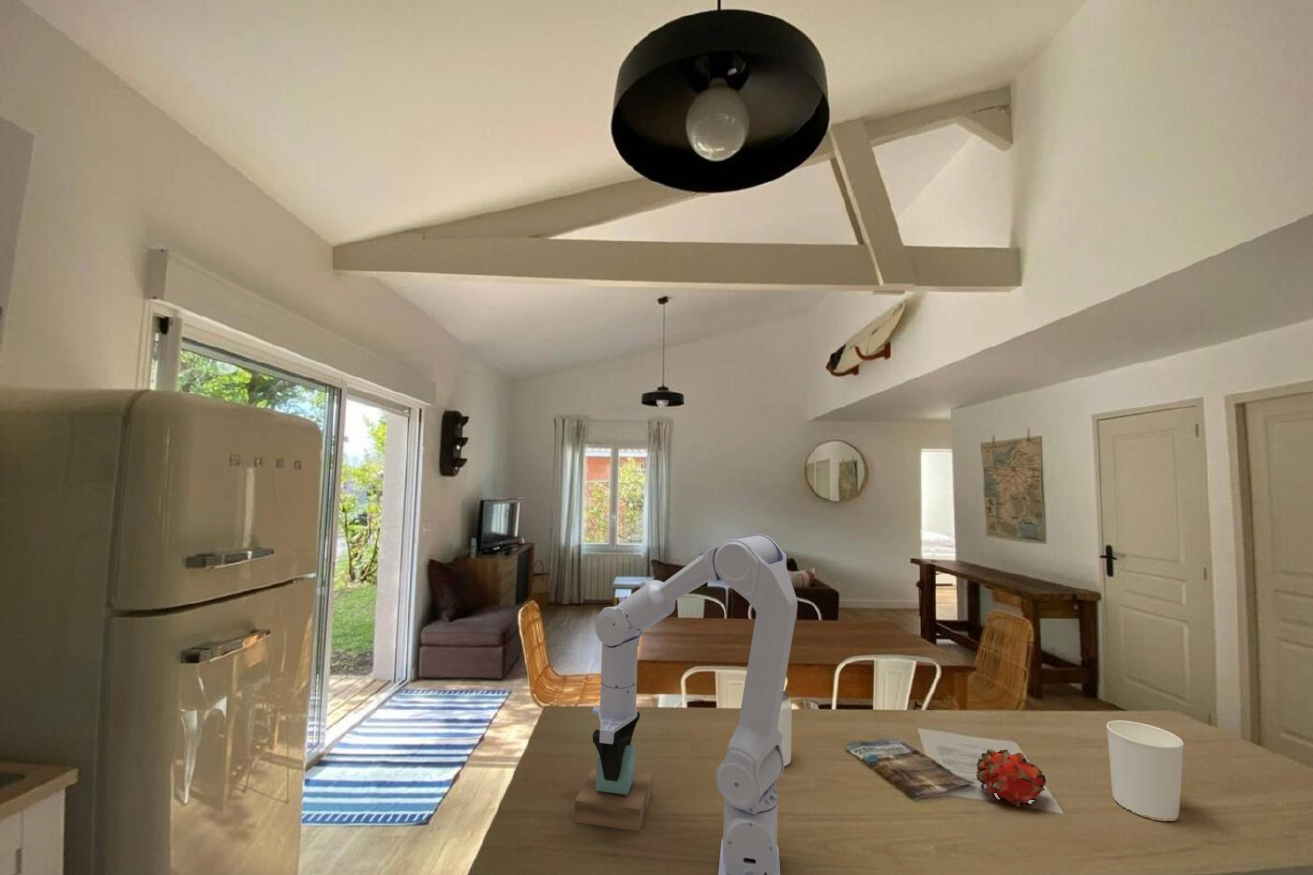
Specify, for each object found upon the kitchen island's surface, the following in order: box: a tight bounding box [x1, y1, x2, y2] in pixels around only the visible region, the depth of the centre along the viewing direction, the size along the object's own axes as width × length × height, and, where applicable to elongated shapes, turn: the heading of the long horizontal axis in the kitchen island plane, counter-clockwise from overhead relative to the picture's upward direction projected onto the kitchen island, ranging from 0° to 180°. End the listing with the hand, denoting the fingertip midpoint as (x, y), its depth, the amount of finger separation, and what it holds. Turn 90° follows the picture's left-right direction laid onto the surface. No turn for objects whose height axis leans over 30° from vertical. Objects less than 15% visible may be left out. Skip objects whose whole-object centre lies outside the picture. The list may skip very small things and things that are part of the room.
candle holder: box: [1106, 719, 1185, 819], centre depth 96 cm, size 10×10×12 cm
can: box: [777, 690, 793, 768], centre depth 108 cm, size 6×6×12 cm
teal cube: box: [596, 744, 636, 795], centre depth 92 cm, size 5×5×5 cm
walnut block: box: [573, 767, 653, 832], centre depth 91 cm, size 10×10×4 cm
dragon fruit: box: [975, 748, 1047, 808], centre depth 97 cm, size 8×8×12 cm
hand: (616, 769), depth 91 cm, fingers open, 5 cm apart
